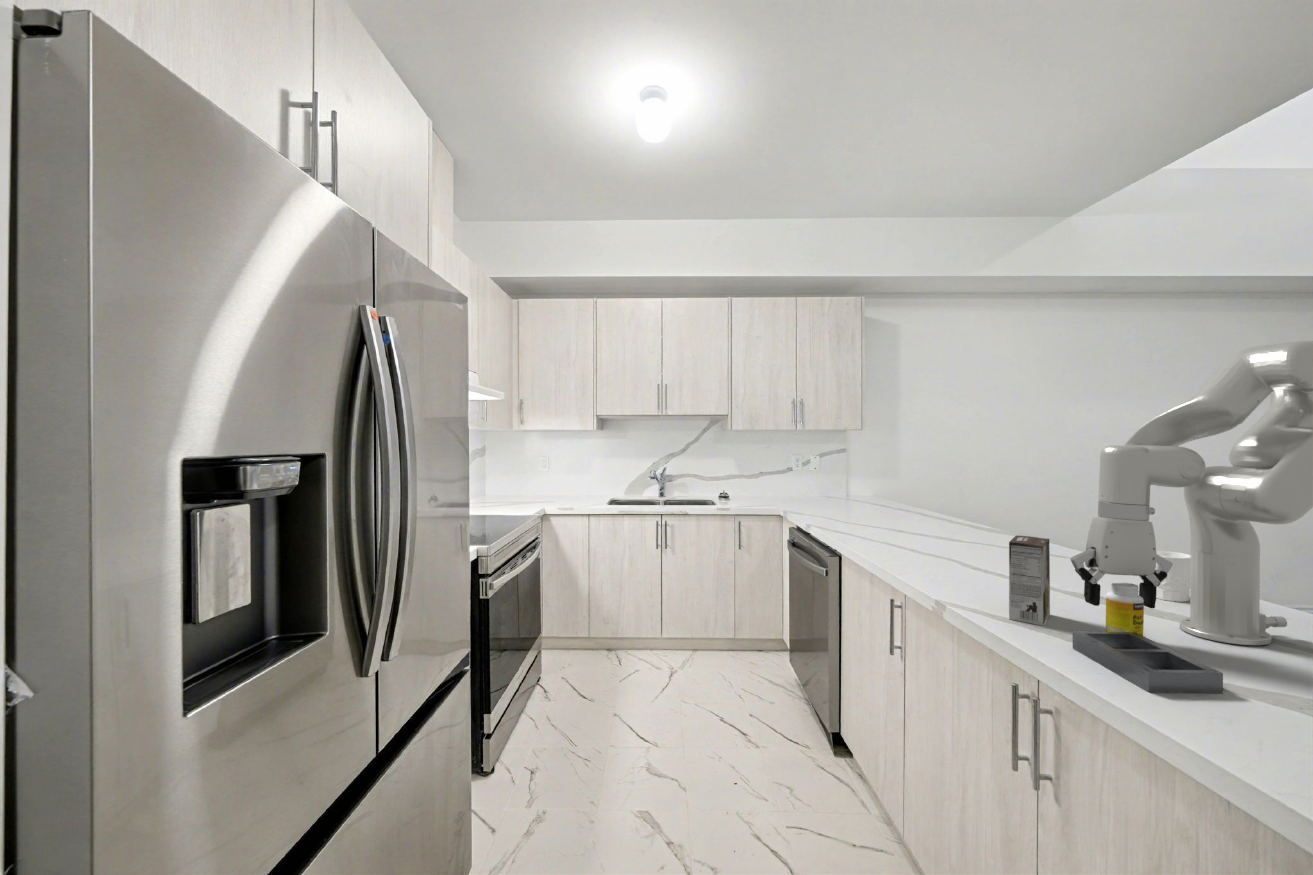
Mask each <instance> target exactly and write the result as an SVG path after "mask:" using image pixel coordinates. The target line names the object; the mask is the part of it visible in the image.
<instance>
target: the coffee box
mask: <svg viewBox="0 0 1313 875" xmlns="http://www.w3.org/2000/svg"><path fill="white" fill-rule="evenodd" d="M1050 554H1051V553H1050V538H1042V537H1037V536H1027V535H1015V536H1013V538H1011V539H1010V541H1009V542H1008V614H1009V615H1008V619H1009V620H1010V621H1016V622H1022V623H1028V624H1034V625H1041V626H1044V625H1045V624H1046V622H1047V620H1048V618H1049V616H1050V614H1051V602H1050V601H1051V595H1050V594H1051V586H1050V585H1051V583H1050V582H1051V578H1050V576H1051V573H1050V572H1051V570H1050V569H1051V568H1050V562H1051V561H1050Z"/></svg>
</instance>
